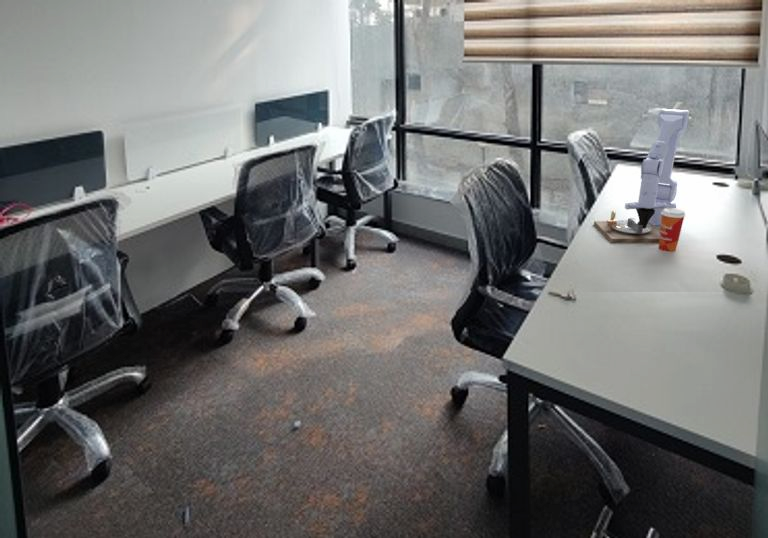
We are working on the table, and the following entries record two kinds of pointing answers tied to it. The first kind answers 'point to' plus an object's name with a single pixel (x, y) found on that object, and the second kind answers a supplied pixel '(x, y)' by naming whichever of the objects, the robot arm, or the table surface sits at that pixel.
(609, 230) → the base board
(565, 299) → the table surface
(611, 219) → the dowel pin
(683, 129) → the robot arm
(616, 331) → the table surface
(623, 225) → the flange plate
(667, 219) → the paper cup
